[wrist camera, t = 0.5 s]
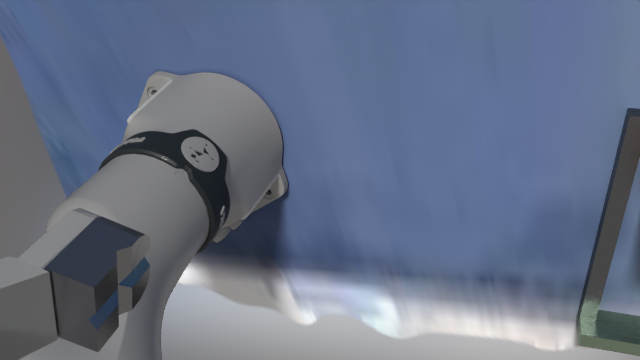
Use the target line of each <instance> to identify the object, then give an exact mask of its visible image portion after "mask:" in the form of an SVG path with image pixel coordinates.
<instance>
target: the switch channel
mask: <svg viewBox="0 0 640 360" xmlns="http://www.w3.org/2000/svg"><path fill="white" fill-rule="evenodd" d="M639 157H640V109H633V108H628V109H627V113H626V117H625V121H624V125H623V129H622V133H621V138H620V142H619V146H618V150H617V154H616V158H615V162H614V166H613V170H612V174H611V178H610V183H609V187H608V191H607V195H606V199H605V203H604V207H603V211H602V215H601V219H600V224H599V228H598V232H597V236H596V240H595V244H594V248H593V252H592V256H591V260H590V264H589V269H588V273H587V277H586V281H585V285H584V289H583V293H582V297H581V301H580V305H579V309H578V314H577V329H578V343H579V345H581V346H587V347H592V348H598V349H603V350H609V351H615V352H621V353H626V354H631V355H637V356H640V316H634V315H628V314H621V313H615V312H609V311H603V310H598V309H599V305H600V302H601V298H602V294H603V291H604V287H605V283H606V279H607V276H608V272H609V268H610V265H611V261H612V257H613V253H614V250H615V246H616V242H617V238H618V235H619V231H620V227H621V224H622V220H623V216H624V212H625V209H626V205H627V201H628V198H629V194H630V190H631V186H632V183H633V179H634V175H635V172H636V168H637V164H638V160H639Z"/></svg>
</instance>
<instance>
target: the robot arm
mask: <svg viewBox="0 0 640 360" xmlns="http://www.w3.org/2000/svg"><path fill="white" fill-rule="evenodd" d="M155 90H156V91H157V92H155ZM127 122H128V126H127V128H126V131H125V134H124V138H123V142H122V143H121V144H119V145H118V146H117V147H116V148H114V149H113V150H112V151H111V152H110V153H109V154H110V155H109V156H108V157H107V158H106V159H105V160H104V161H103V162H102V164H101V166H100V167H99V170H98V172H97V173H96V174H94V175H93V176H92V177H91V178H90V179H89V180H87V181H86V182H85V183H84V184H83V185H82V186H80V187H79V188H78V189H77V190H76V191H75V192H74V193H72V194H71V195H70V196H69V197H68V198H67V199H65V200H64V201H63V202H62V203H61V204H60V205H59V206H58V207H57V208H56V209H55V211H54V212H53V213H52V215H51V217H50V219H49V221H48V224H47V226H46V230H45V234H44V235H43V236H42V237H41V238H40V239H39V240H37V241H36V242H35V243H34V244H33V245H32V246H31V247H30V248H29V249H27V250H26V251H25V252H24V253H23V254H22V255H21V256H20V257H18V258H14V257H11V256H9V257H6V258H2V259H0V360H162V353H161V326H162V319H163V314H164V310H165V306H166V303H167V301H168V298H169V296H170V294H171V292H172V291H173V289H174V287H175V285H176V283H177V282H178V280H179V278H180V277H181V275H182V274H183V272H184V270H185V269H186V267H187V266H188V264H189V263H190V261H191V260H192V258H193V257H194V256H195V254H197V253H199V252H201V251H202V250H203V249H205V248H206V247H207V245H208V244H210V242H211V241H214V242H216V243H217V242H219V241H221V240H222V239H223V238H225V237H226V236H227V235H228V233H229V232H230V230H231V229H232V230H234V229H236V228H237V227H238V226H239V225H240V224H241V223H242V220H245V219H246V218H247V217H248V216H249V215H250V213H252V212H254V211H256V210H257V209H259V208H261V207H263V206H265V205H267V204H268V203H270V202H272V201H274V200H276V199H278V198H279V197H281V196H282V195H283V194H284V193H285V192H286V191H287V189H288V182H287V178H286V175H285V173H284V170H283V167H282V153H283V143H282V136H281V132H280V129H279V126H278V123H277V121H276V119H275V117H274V115H273V113H272V112H271V110H270V109H269V108H268V106H267V105H266V104H265V102H264V101H263V100H262V99H261V98H260V97H259V96H258V95H257V94H256V93H255V92H254V91H252V90H251V89H250V88H248V87H247V86H245V85H244V84H242V83H241V82H239V81H237V80H235V79H232V78H230V77H227V76H224V75H221V74H216V73H194V74H189V75H176V74H172V73H168V72H161V71H158V72H155V73H153V74H152V75H151V76H150V78H149V79H148V81H147V84H146V86H145V89H144V92H143V95H142V97H141V100H140V103H139V106H138V108H137V110H136V111H135V112H134V113H133V114H131V115H130V117H129V118H128V119H127ZM268 190H271V192H270V191H268ZM230 228H231V229H230Z"/></svg>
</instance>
